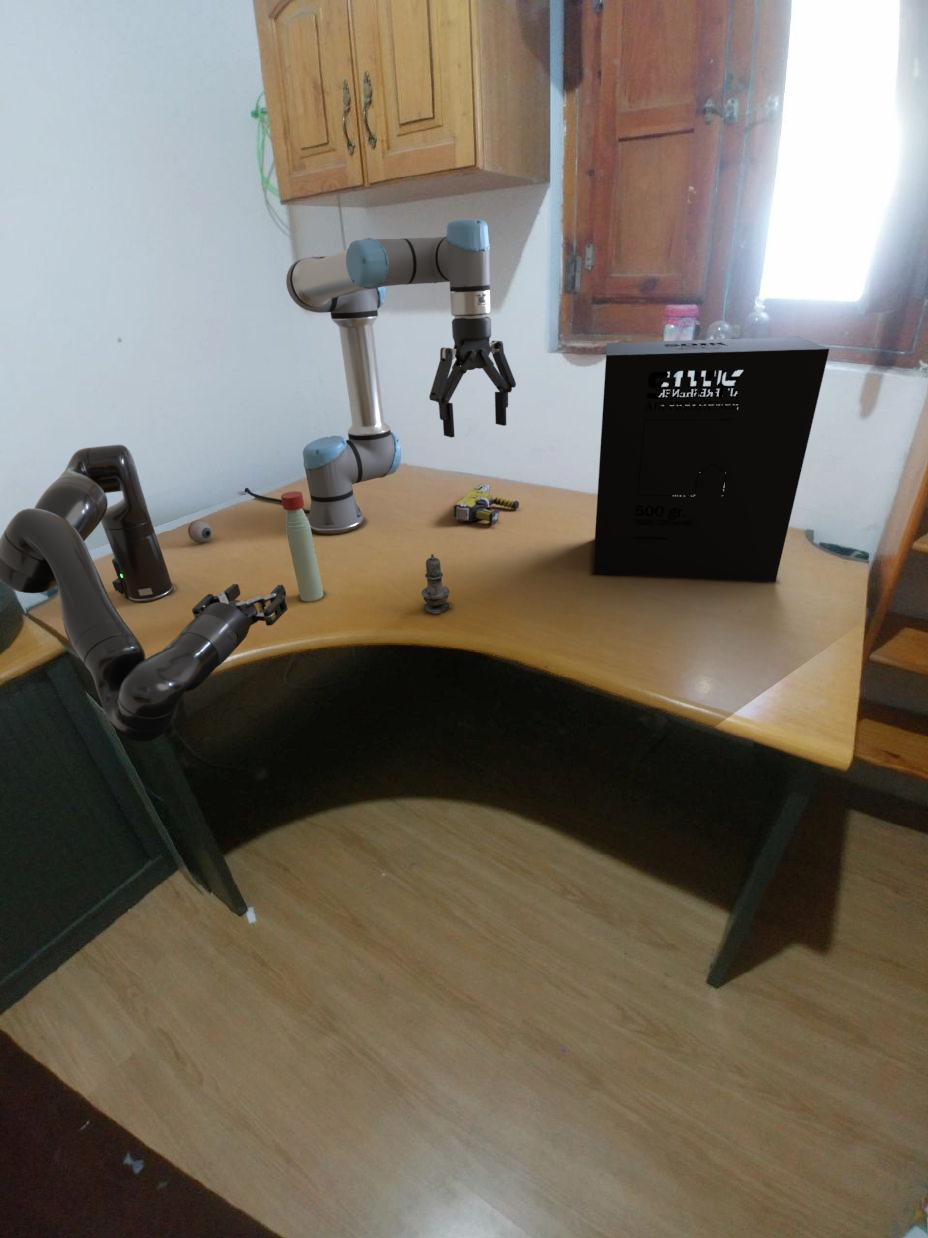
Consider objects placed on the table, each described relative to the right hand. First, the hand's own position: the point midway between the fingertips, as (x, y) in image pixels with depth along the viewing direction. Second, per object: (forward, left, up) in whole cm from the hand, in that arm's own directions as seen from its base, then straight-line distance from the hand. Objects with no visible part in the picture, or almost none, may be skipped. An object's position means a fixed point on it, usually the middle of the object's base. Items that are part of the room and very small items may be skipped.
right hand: (475, 430), depth 126 cm
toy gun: (-27, +25, -31) cm, 48 cm away
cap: (-13, -37, -8) cm, 40 cm away
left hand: (+4, -52, -18) cm, 55 cm away
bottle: (-13, -37, -31) cm, 50 cm away
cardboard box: (+28, +36, -31) cm, 55 cm away
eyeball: (-63, -46, -31) cm, 84 cm away
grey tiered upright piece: (+10, -19, -31) cm, 38 cm away
